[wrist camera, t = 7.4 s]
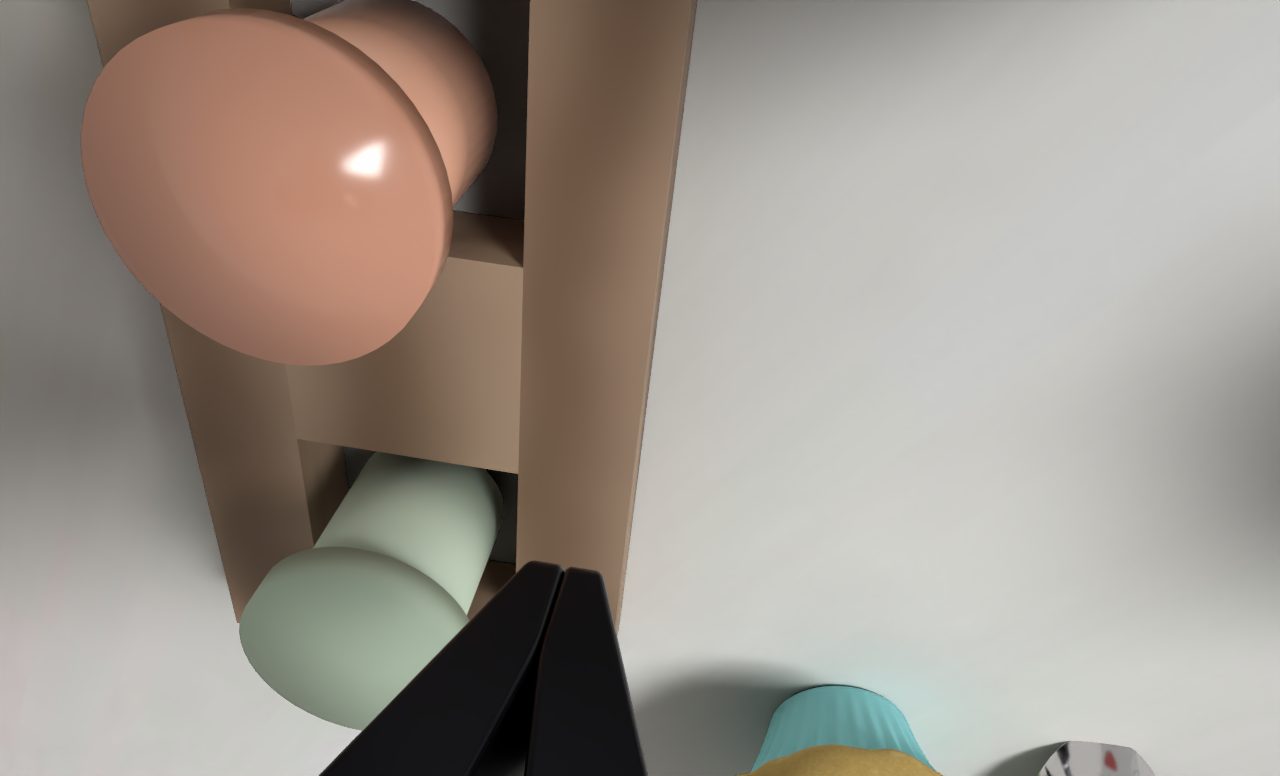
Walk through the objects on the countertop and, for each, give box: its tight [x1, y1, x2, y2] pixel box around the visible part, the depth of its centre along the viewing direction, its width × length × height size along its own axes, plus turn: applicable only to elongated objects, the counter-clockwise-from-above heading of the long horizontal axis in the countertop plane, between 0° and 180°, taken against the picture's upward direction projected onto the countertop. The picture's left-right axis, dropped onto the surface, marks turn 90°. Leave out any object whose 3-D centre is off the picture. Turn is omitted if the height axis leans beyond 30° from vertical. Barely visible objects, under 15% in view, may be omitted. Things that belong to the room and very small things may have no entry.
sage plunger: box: [239, 452, 504, 730], centre depth 24 cm, size 6×6×6 cm
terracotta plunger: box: [81, 0, 498, 366], centre depth 16 cm, size 6×6×6 cm
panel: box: [87, 0, 697, 634], centre depth 22 cm, size 12×22×2 cm, turn 174°
